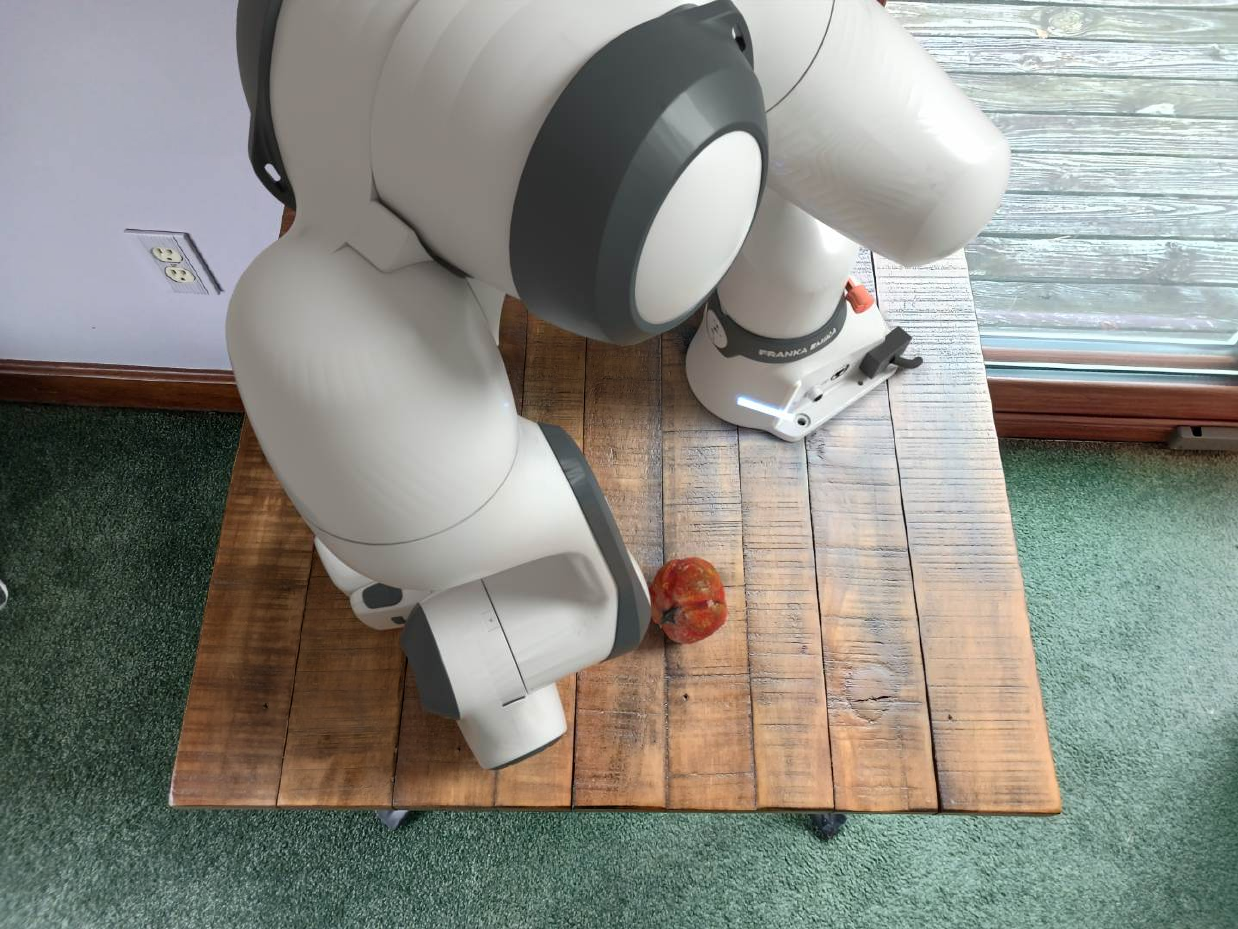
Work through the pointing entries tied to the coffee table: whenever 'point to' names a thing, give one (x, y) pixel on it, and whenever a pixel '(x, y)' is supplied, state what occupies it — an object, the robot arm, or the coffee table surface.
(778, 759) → the coffee table surface
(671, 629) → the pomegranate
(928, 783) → the coffee table surface
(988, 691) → the coffee table surface
